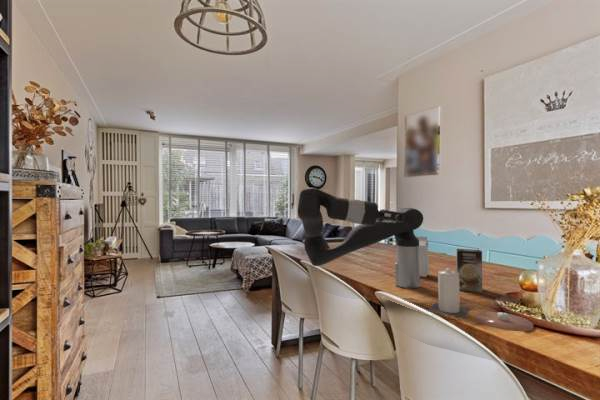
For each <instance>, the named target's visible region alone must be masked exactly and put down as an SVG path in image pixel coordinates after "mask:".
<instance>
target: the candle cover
mask: <svg viewBox="0 0 600 400" xmlns="http://www.w3.org/2000/svg"><path fill="white" fill-rule="evenodd" d="M437 285H438V287H437V290H438V292H437V293H438V303H439V309H440V310H441V311H444V312H449V313H456V312H459V311H460V305H461V303H460V302H461V301H460V300H461V298H460V290H459V273H458V272H457V271H454V270H452V269H451V268H449V267H448V268H446V269H445V270H438V272H437Z"/></svg>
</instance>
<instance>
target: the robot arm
mask: <svg viewBox="0 0 600 400" xmlns="http://www.w3.org/2000/svg"><path fill="white" fill-rule="evenodd" d="M321 206H322V207H324V208H325V210H326V214H327V217H328V218H329V219H333V220H336V221H337V220H338V221H345V222H348V223H352V224H357V225H356V226H354V227H352V229H351V230H350V231H349V232H348V234H347V235H346V237H345V238H344V239H343V241H341V242H340V244H338V245H336V246H334V247H330V245H329V244H328V242H327V240H326V239H325V237H324V235H323V234H322V232H323V231H324V230H323V229H324V219H323V214H322V212H321ZM378 208H379V205H378V204H377V203H376V202H372V201H367V200H361V199H349V198H344V197H338V196H335V195H332V194H330V193H328V192H325V191H323V190H320V189H319V188H316V187H307V188H303V189H302V190H301V191H300V192H299V199H298V206H297V215H298V218H299V220H300V221H301V222H302V226H303V231H304V245H303V246H304V250H305V253H306V255H307V257H308V260H309V261H310V263H311V265H312V266H314V267H319V266H323V265H326V264H329V263H331V262H332V261H335V260H337V259H339V258H342V257H343V256H345V255H347V254H350V253H352V252H355V251H357V250H361V249H363V248H366V247H369V246H373V245H374V244H377V243H379V242H382V241H384V240H386V239H390V238H392V237H393V236H394V239H395V241H396V262H395V264H394V266H395V268H394V270H395V271H394V273H395V274H394V275H395V276H394V277H395V286H398V287H399V288H400V287H401V288H405V289H407V288H408V289H418V288H420V287H421V276H420V258H419V239H418V238H417V237H418V236H417V237H416V235H415V232H414V231H415V230H417V229H418V228H420V227H421V226H422V224H423V223H424V216H423V213H422V212H421V211H420V210H418V209H417V208H413V207H409V208H408V207H404V208H403V207H402V208H399V209H397V210H396V211H395V210H394V211H393V210H388V209H378Z"/></svg>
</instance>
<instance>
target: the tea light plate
mask: <svg viewBox="0 0 600 400" xmlns="http://www.w3.org/2000/svg"><path fill="white" fill-rule="evenodd" d="M475 318H476V320H477V321H478V322H479V323H482V324H483V325H486V326H489V327H493V328H496V329H500V330H507V331H518V332H519V331H523V332H524V333H527V332H531V331H533V330H534V323H533V322H532V321H531V320H529V319H527V318H524V317H522V316H518V315H515V314H511V313H508V312H505V311H502V312H501V311H499V312H497V311H482V312H479V313H477V314H476V315H475Z"/></svg>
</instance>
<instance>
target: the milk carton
mask: <svg viewBox="0 0 600 400" xmlns="http://www.w3.org/2000/svg"><path fill="white" fill-rule="evenodd" d="M415 236H416V235H415ZM416 237H417V238H418V239H419V258H420V278H421V277H423V278H426V277H427V275H429V271H430V266H429V265H430V263H429V243H428V242H429V240H428V237H427V236H418V235H417V236H416Z"/></svg>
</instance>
